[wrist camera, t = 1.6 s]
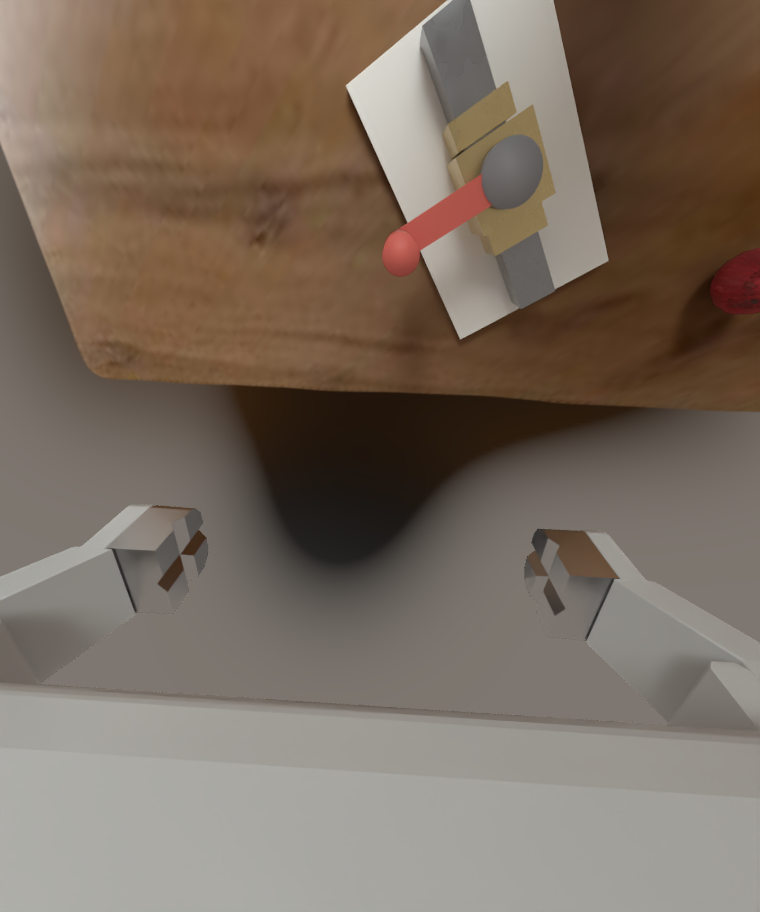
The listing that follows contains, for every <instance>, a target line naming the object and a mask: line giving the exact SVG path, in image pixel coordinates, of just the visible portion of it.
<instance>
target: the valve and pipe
mask: <svg viewBox="0 0 760 912" xmlns="http://www.w3.org/2000/svg"><path fill="white" fill-rule="evenodd" d="M420 47H421V50H422V53H423V56H424V58H425V61H426V64H427V67H428V70H429V72H430V75H431V78H432V81H433V84H434V86H435V89H436V92H437V95H438V98H439V100H440V103H441V106H442V109H443V112H444V114H445V117H446V120H447V123H448V125H447V127H446V128H445V130H444V132H443V133H442V136H443V138H444V141H445V144H446V146H447V149H448V152H449V155H450V157H451V160H452V159H453V158H454V157H456V156H457V155H459V156H457V157H456V158H455V159H454V160H452V161H451V162H450V163H449V164H448V165H447V166H446V167H447V170H448V173H449V175H450V178H451V181H452V183H453V186H454V189H455V191H456V190H458V189H459V188H461V187H462V186H464V185H465V184H467V183H468V182H470V181H471V180H473V179H474V178H476V177H477V176H479V172H480V168H481V165H482V162H483V160H484V158H485V156H486V155H487V153H488V152H489V151H490V150H491V148H493V147H494V146H495V145H496V144H497V143H499V142H500V141H502V140H503V139H505V138H507V137H509V136H512V135H525V136H528V137H530V138H531V139H533V140H534V141H535V142H536V143H537V145H538V146H539V148H540V150H541V153H542V157H543V173H542V177H541V180H540V183H539V185H538V187H537V189H536V191H535V192H534V194H533V195H532V196H531V197H530V199H529V200H527V201H526V202H525V203H524V204H522V205H520V206H519V207H516V208H513V209H504V210H501V209H495V208H493V207H491V206H490V207H488V208H487V209H485V210H484V211H482V212H480V213H479V214H477V215H476V216H474V217H473V218H471V219H469V220H468V221H467V223H468V226H469V228H470V231H471V234H475V235H479V236H480V239H481V242H482V244H483V247H484V250H485V252H486V253H488V254H491V255H493V256H495V257H496V260H497V263H498V266H499V268H500V271H501V274H502V277H503V280H504V282H505V285H506V288H507V291H508V294H509V296H510V299H511V302H512V303H513V304H514V305H516V306H517V307H518V308H520V309H522V308H524V307H526V306H528V305H530V304H532V303H534V302H536V301H538V300H539V299H541V298H543V297H545V296H547V295H549V294H551V293H553V292H555V288H554V284H553V281H552V277H551V274H550V271H549V267H548V264H547V260H546V257H545V253H544V250H543V247H542V243H541V240H540V236H539V233H538V231H539V230H541V229H543V228H544V227H546V226H548V223H547V219H546V216H545V212H544V208H543V205H542V201H543V200H545V199H547V198H548V197H550V196H552V195H553V194H555V193H556V192H555V188H554V184H553V180H552V176H551V172H550V168H549V164H548V161H547V157H546V153H545V149H544V145H543V141H542V137H541V133H540V129H539V126H538V122H537V118H536V114H535V110H534V106H533V104H532V105H531V106H529V107H528V108H526V109H525V110H523V111H522V112H521V113H519V114H518V115H516V116H515V117H513V118H512V119H510V120H509V121H508V122H506V121H507V120H508V119H509V118H510V117H512V116H513V115H514V114H515V113H516V112H517V111H516V107H515V104H514V100H513V97H512V93H511V89H510V86H509V82H508V81H507V82H505V83H504V84H502V85H501V86H500V87H498V88H497V89H496V86H495V83H494V79H493V76H492V72H491V69H490V65H489V62H488V59H487V55H486V52H485V48H484V45H483V42H482V38H481V35H480V31H479V28H478V24H477V21H476V18H475V14H474V11H473V7H472V4H471V0H452V1H451V2H450V3H449V4H448V5H446V6H445V7H444V8H443V9H442V10H440V11H439V12H438V13H437V14H436V15H434V16H433V17H432V18H431V19H430V20H428V21H427V22H426V23H425V24H424V25H422V30H421V37H420Z"/></svg>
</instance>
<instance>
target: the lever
mask: <svg viewBox="0 0 760 912" xmlns="http://www.w3.org/2000/svg"><path fill="white" fill-rule="evenodd" d="M542 173H543V157H542V153H541V150H540V148H539V146H538V145H537V143H536V142H535V141H534V140H533V139H531V138H530V137H528V136H525V135H512V136H509V137H507V138H505V139H503V140H502V141H500V142H499V143H497V144H496V145H495V146H494V147H493V148H491V150H490V151H489V152H488V153H487V155H486V156H485V158H484V160H483V162H482V165H481V168H480V172H479V176H477V177H476V178H474V179H473V180H471V181H470V182H468V183H467V184H465V185H464V186H462V187H461V188H459V189H458V190H456V191H455V192H453V193H452V194H450V195H449V196H447V197H446V198H444V199H443V200H441V201H440V202H438V203H437V204H435V205H434V206H432V207H431V208H429V209H428V210H426V211H425V212H423V213H422V214H420V215H419V216H417V217H416V218H414V219H413V220H411V221H410V222H408V223H407V224H405V225H404V226H402V227H401V228H399V229H398V230H395V231H393V232H392V233H390V234H389V236H388V237H387V239H386V242H385V245H384V249H383V253H382V259H383V263H384V266H385V267H386V269H387V270H388V271H389V272H390V273H391V274H393V275H395V276H400V277H401V276H406V275H408V274H410V273H412V272H413V271H414V270H415V268H416V267H417V265H418V263H419V259H420V250H422V249H424V248H425V247H427V246H428V245H430V244H431V243H433V242H435V241H436V240H438V239H439V238H441V237H443V236H444V235H446V234H447V233H449V232H450V231H452V230H454V229H455V228H457V227H458V226H460V225H461V224H463V223H465V222H466V221H468V220H469V219H471V218H473V217H474V216H476V215H477V214H479V213H480V212H482V211H484V210H485V209H487V208H488V207H490V206H491V207H493V208H495V209H501V210H504V209H513V208H516V207H519V206H520V205H522V204H524V203H525V202H526V201H527V200H529V199H530V197H531V196H532V195H533V194H534V192H535V191H536V189H537V187H538V185H539V183H540V180H541V177H542Z"/></svg>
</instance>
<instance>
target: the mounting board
mask: <svg viewBox="0 0 760 912" xmlns="http://www.w3.org/2000/svg"><path fill="white" fill-rule="evenodd" d="M451 1H452V0H447V1H446V2H445V3H444V4H442V5H441V6H440V7H439V8H438V9H436V10H435V11H434V12H433V13H432V14H430V15H429V16H428V17H427V18H426V19H425V20H423V21H422V22H421V23H420V24H419V25H417V26H416V27H415V28H414V29H413V30H411V31H410V32H409V33H408V34H407V35H405V36H404V37H403V38H402V39H401V40H400V41H398V42H397V43H396V44H395V45H394V46H392V47H391V48H390V49H389V50H388V51H386V52H385V53H384V54H383V55H382V56H380V57H379V58H378V59H377V60H376V61H375V62H373V63H372V64H371V65H370V66H369V67H367V68H366V69H365V70H364V71H363V72H361V73H360V74H359V75H358V76H357V77H355V78H354V79H353V80H352V81H351V82H349V83H348V84H347V85H346V87H347V90H348V92H349V94H350V97H351V99H352V101H353V103H354V105H355V108H356V110H357V112H358V114H359V116H360V119H361V121H362V123H363V125H364V128H365V130H366V132H367V134H368V136H369V139H370V141H371V143H372V145H373V148H374V150H375V152H376V154H377V156H378V159H379V161H380V163H381V165H382V167H383V170H384V172H385V174H386V176H387V179H388V181H389V183H390V185H391V187H392V190H393V192H394V194H395V196H396V199H397V201H398V203H399V205H400V207H401V210H402V212H403V214H404V216H405V218H406V221H407V223H408V222H410V221H411V220H413V219H414V218H416V217H417V216H419V215H420V214H422V213H423V212H425V211H426V210H428V209H429V208H431V207H432V206H434V205H435V204H437V203H438V202H440V201H441V200H443V199H444V198H446V197H447V196H449V195H450V194H452V193H453V192H455V189H454V186H453V183H452V181H451V178H450V175H449V173H448V170H447V167H446V166H447V165H448V164H449V163H450V162H451V161H452V160H454V159H455V158H456V157H457V156H459V155H457V156H456V157H454V158H453V159H452V160H451V157H450V155H449V152H448V149H447V146H446V144H445V141H444V138H443V136H442V133H443V132H444V130H445V128H446V127H447V125H448V123H447V120H446V117H445V114H444V112H443V109H442V106H441V103H440V100H439V98H438V95H437V92H436V89H435V86H434V84H433V81H432V78H431V75H430V72H429V70H428V67H427V64H426V61H425V58H424V56H423V53H422V50H421V47H420V37H421V30H422V25H424V24H425V23H426V22H427V21H428V20H430V19H431V18H432V17H433V16H434V15H436V14H437V13H438V12H439V11H440V10H442V9H443V8H444V7H445V6H446V5H448V4H449V3H450V2H451ZM471 4H472V7H473V11H474V14H475V18H476V21H477V24H478V28H479V31H480V35H481V38H482V42H483V45H484V48H485V52H486V55H487V59H488V62H489V65H490V69H491V72H492V76H493V79H494V83H495V86H496V89H497V88H498V87H500V86H501V85H502V84H504V83H505V82H507V81H508V82H509V86H510V89H511V93H512V97H513V100H514V104H515V107H516V111H517V112H516V113H515V114H514V115H513V116H512V117H510V118H509V119H508V120H507V121H506V122H508V121H509V120H510V119H512V118H513V117H515V116H516V115H518V114H519V113H521V112H522V111H523V110H525V109H526V108H528V107H529V106H531V105H532V104H533V106H534V110H535V114H536V118H537V122H538V126H539V129H540V133H541V137H542V141H543V145H544V149H545V153H546V157H547V161H548V164H549V168H550V172H551V176H552V180H553V184H554V188H555V192H556V193H555V194H553V195H552V196H550V197H548V198H547V199H545V200H543V201H542V205H543V208H544V212H545V216H546V219H547V223H548V226H546V227H544V228H543V229H541V230H539V231H538V233H539V236H540V240H541V243H542V247H543V250H544V253H545V257H546V260H547V264H548V267H549V271H550V274H551V277H552V281H553V284H554V288H555V289H556V288H558V287H560V286H562V285H564V284H566V283H568V282H570V281H571V280H573V279H575V278H577V277H579V276H581V275H583V274H585V273H587V272H588V271H590V270H592V269H594V268H596V267H598V266H600V265H602V264H603V263H605V262H607V261H609V260H608V255H607V251H606V246H605V241H604V236H603V232H602V227H601V222H600V218H599V213H598V208H597V203H596V199H595V194H594V189H593V185H592V180H591V175H590V170H589V166H588V161H587V156H586V152H585V147H584V142H583V137H582V133H581V128H580V123H579V119H578V114H577V109H576V104H575V100H574V95H573V90H572V86H571V81H570V76H569V71H568V67H567V62H566V57H565V52H564V48H563V43H562V38H561V34H560V29H559V24H558V19H557V15H556V10H555V5H554V1H553V0H471ZM420 252H421V254H422V256H423V258H424V261H425V263H426V265H427V267H428V269H429V272H430V274H431V276H432V278H433V281H434V283H435V285H436V287H437V289H438V292H439V294H440V296H441V298H442V301H443V303H444V305H445V307H446V309H447V312H448V314H449V316H450V318H451V320H452V323H453V325H454V327H455V329H456V332H457V334H458V336H459V338H460V340H461V339H463V338H464V337H466V336H468V335H470V334H472V333H474V332H476V331H478V330H479V329H481V328H483V327H485V326H487V325H489V324H491V323H493V322H494V321H496V320H498V319H500V318H502V317H504V316H506V315H508V314H509V313H511V312H513V311H515V310H517V309H519V308H518V307H517V306H516V305H514V304H513V303H512V302H511V299H510V296H509V294H508V291H507V288H506V285H505V282H504V280H503V277H502V274H501V271H500V268H499V266H498V263H497V260H496V257H495V256H493V255H491V254H488V253H486V252H485V250H484V247H483V244H482V242H481V239H480V236H479V235H475V234H471V231H470V228H469V226H468V223H467V221H466V222H465V223H463V224H461V225H460V226H458V227H457V228H455V229H454V230H452V231H450V232H449V233H447V234H446V235H444V236H443V237H441V238H439V239H438V240H436V241H435V242H433V243H431V244H430V245H428V246H427V247H425V248H424V249H422V250H420Z"/></svg>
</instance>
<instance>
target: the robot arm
mask: <svg viewBox="0 0 760 912" xmlns="http://www.w3.org/2000/svg"><path fill="white" fill-rule="evenodd" d="M202 524H203V520H202V516H201V512H200V511H198V510H197V509H195V508H182V507H170V506H158V505H156V506H154V505H141V504H135V505H131V506H128V507H127V508H126V509H125V510H123V511H122V512H121V513H120V514H119V515H118V516H116V518H114V519H113V520H112V521H111V522H110V523H108V524H107V525H106V526H105V527H104V528H103V529H101V530H100V531H99V532H98V533H97V534H95V535H94V536H93V537H92V538H91V539H90V540H89V541H87V542H86V543H85V544H84V545H83V546H82V547H72V548H70V549H67V550H65V551H63V552H60V553H58V554H55V555H53V556H50V557H48V558H46V559H43V560H40V561H38V562H36V563H33V564H31V565H28V566H26V567H23V568H21V569H18V570H16V571H14V572H11V573H9V574H6V575H4V576H1V577H0V912H760V643H759V642H757V641H755V640H754V639H752V638H750V637H749V636H747V635H745V634H743V633H742V632H740V631H738V630H736V629H735V628H733V627H731V626H729V625H728V624H726V623H724V622H723V621H721V620H719V619H717V618H716V617H714V616H712V615H711V614H709V613H707V612H705V611H704V610H702V609H700V608H699V607H697V606H695V605H693V604H692V603H690V602H688V601H686V600H685V599H683V598H681V597H680V596H678V595H676V594H674V593H673V592H671V591H669V590H668V589H666V588H664V587H662V586H661V585H659V584H657V583H655V582H652V581H646V580H645V579H644V577H643V576H642V575H641V574H640V572H639V571H638V570H637V569H636V568H635V566H634V565H633V564H632V563H631V562H630V560H629V559H628V558H627V557H626V555H625V554H624V553H623V552H622V551H621V549H620V548H619V547H618V546H617V545H616V543H615V542H614V541H613V540H612V539H611V537H610V536H609V535H608V534H607V533H605V532H603V531H588V530H586V531H585V530H580V531H570V530H551V529H537V530H536V532H535V533H534V535H533V538H532V542H531V543H532V544H533V547H534V549H535V551H534V552H532V553H531V554H530V555H529V556H527V559H526V563H525V567H524V577H525V584H526V588H527V590H528V593H529V595H530V597H531V598H533V599H534V600H535V601H536V602H537V603H539V605H538V609H537V615H538V617H539V619H540V622H541V624H542V626H543V629H544V631H545V633H546V635H547V637H550V638H561V639H572V640H584V641H586V643H587V644H588V645H589V646H590V647H591V648H592V649H593V650H594V651H595V652H596V653H597V654H598V655H599V656H600V657H601V658H602V659H603V660H604V661H606V662H607V664H609V665H610V666H611V667H612V668H613V669H614V670H615V671H616V672H617V673H618V674H619V675H620V676H621V677H622V678H623V679H624V680H625V681H626V682H627V683H628V684H629V685H630V686H631V687H632V688H633V689H634V690H635V691H636V692H638V694H639V695H640V696H641V697H643V698H644V699H645V700H646V701H647V702H648V703H649V704H650V705H651V706H652V707H653V708H654V709H655V710H656V711H657V712H658V713H659V714H660V715H661V716H662V717H663V718H664V719H665V720H666V721H667V722H668V724H667V725H660V724H644V723H629V722H615V721H599V720H583V719H569V718H568V719H567V718H553V717H537V716H522V715H506V714H505V715H504V714H490V713H474V712H459V711H443V710H427V709H410V708H396V707H381V706H365V705H350V704H336V703H320V702H304V701H289V700H275V699H259V698H243V697H229V696H214V695H198V694H183V693H167V692H153V691H136V690H122V689H107V688H90V687H75V686H60V685H45V684H41V683H42V682H43V681H44V680H46V679H47V678H48V677H50V676H51V675H53V674H54V673H56V672H57V671H58V670H60V669H61V668H63V667H64V666H65V665H67V664H68V663H70V662H71V661H72V660H74V659H75V658H76V657H78V656H79V655H81V654H82V653H83V652H85V651H86V650H87V649H89V648H90V647H92V646H93V645H94V644H96V643H97V642H99V641H100V640H101V639H103V638H104V637H106V636H107V635H108V634H110V633H111V632H112V631H114V630H115V629H117V628H118V627H120V626H121V625H122V624H123V623H125V622H126V621H128V620H129V619H131V618H132V617H133V616H135V613H157V614H174V613H175V611H176V610H177V609H178V607H179V606H180V604H181V603H182V601H183V599H184V598H185V596H186V595H187V593H188V592H189V588H188V582H190V581H192V580H193V579H195V578H197V577H198V576H199V575H200V573H201V571H202V570H203V568H204V567H205V563H206V560H207V556H208V543H207V538H206V537H205V536H204V535H203V534H202V533H201V532H200V531H199V529H200V527H201V526H202Z"/></svg>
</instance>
